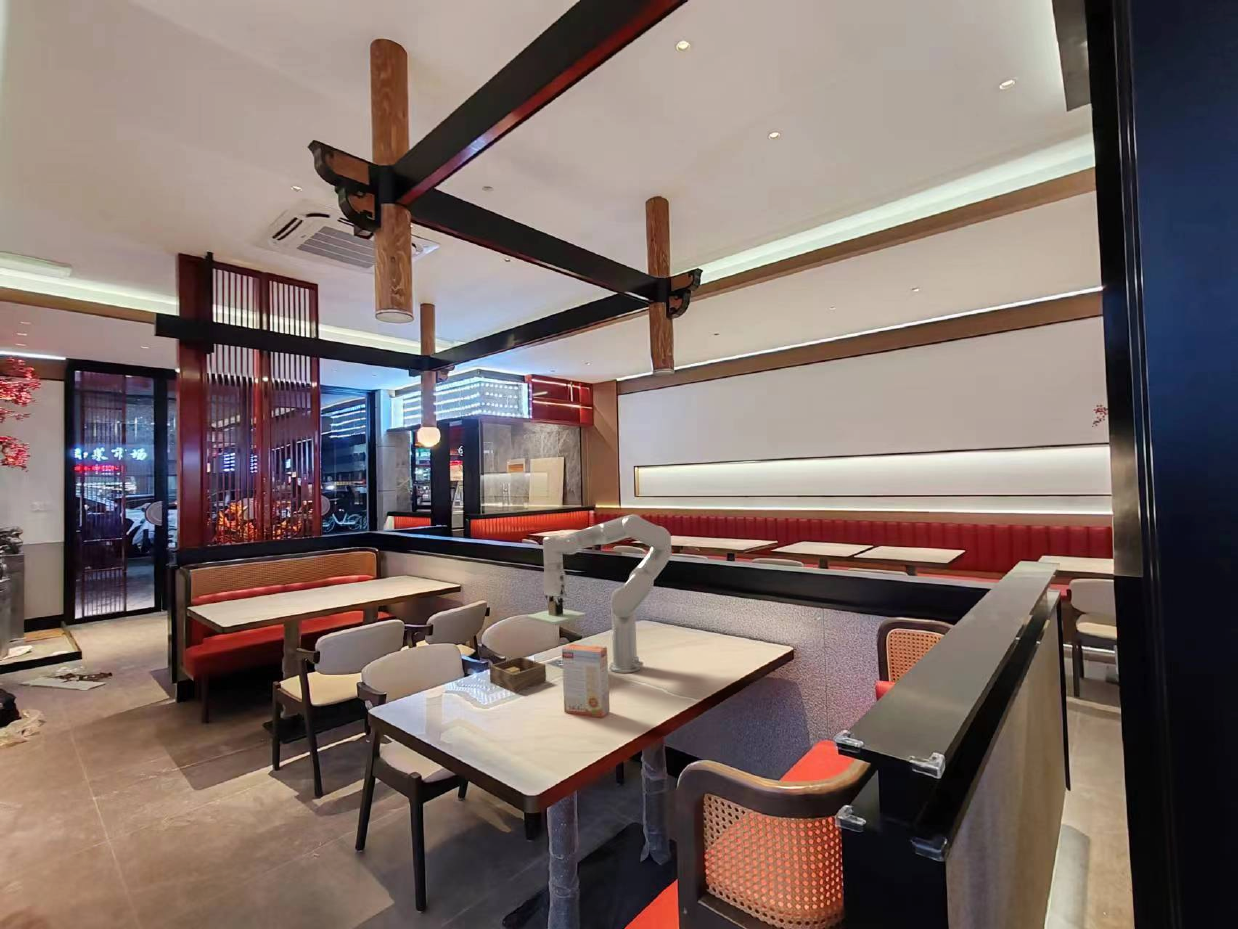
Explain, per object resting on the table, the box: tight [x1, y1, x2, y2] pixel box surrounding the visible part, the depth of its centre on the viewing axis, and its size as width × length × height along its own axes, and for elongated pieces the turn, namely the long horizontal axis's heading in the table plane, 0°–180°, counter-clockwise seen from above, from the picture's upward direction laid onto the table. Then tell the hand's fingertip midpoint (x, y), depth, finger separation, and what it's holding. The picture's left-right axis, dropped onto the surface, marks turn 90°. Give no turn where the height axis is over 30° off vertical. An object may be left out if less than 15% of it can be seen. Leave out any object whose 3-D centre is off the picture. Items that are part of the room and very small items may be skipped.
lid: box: [525, 600, 587, 626], centre depth 221 cm, size 18×16×7 cm
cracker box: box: [561, 643, 611, 719], centre depth 180 cm, size 14×6×21 cm, turn 65°
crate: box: [489, 656, 547, 694], centre depth 207 cm, size 16×14×7 cm
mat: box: [546, 659, 563, 670], centre depth 221 cm, size 20×18×1 cm
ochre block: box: [505, 667, 520, 674], centre depth 210 cm, size 4×4×4 cm
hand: (555, 612), depth 221 cm, fingers closed on lid, 4 cm apart
